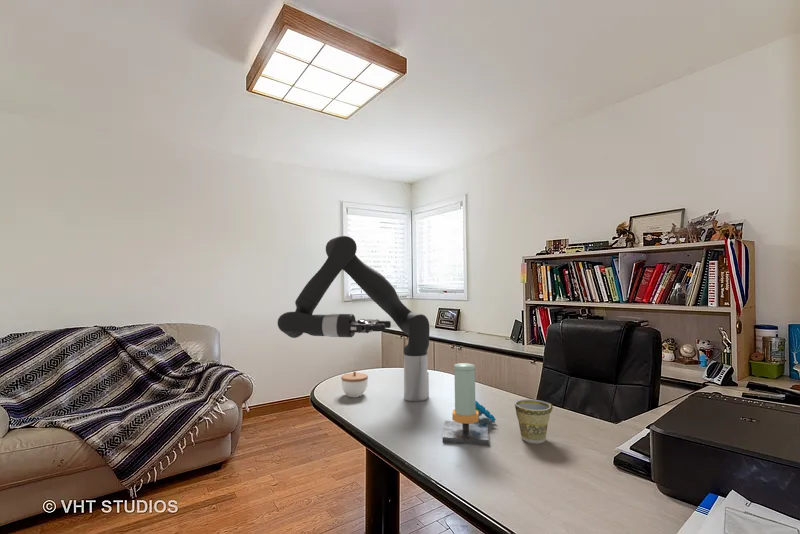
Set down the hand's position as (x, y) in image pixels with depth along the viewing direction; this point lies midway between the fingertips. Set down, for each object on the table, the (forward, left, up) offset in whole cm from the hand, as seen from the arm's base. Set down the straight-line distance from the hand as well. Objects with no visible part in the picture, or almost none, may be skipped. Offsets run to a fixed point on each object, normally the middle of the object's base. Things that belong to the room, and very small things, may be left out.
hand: (387, 326), depth 124 cm
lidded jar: (-17, -34, -32) cm, 50 cm away
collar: (-10, +22, -27) cm, 36 cm away
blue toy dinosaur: (-23, +20, -32) cm, 45 cm away
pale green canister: (-10, +22, -25) cm, 35 cm away
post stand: (-10, +22, -32) cm, 40 cm away
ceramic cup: (-21, +39, -32) cm, 55 cm away
